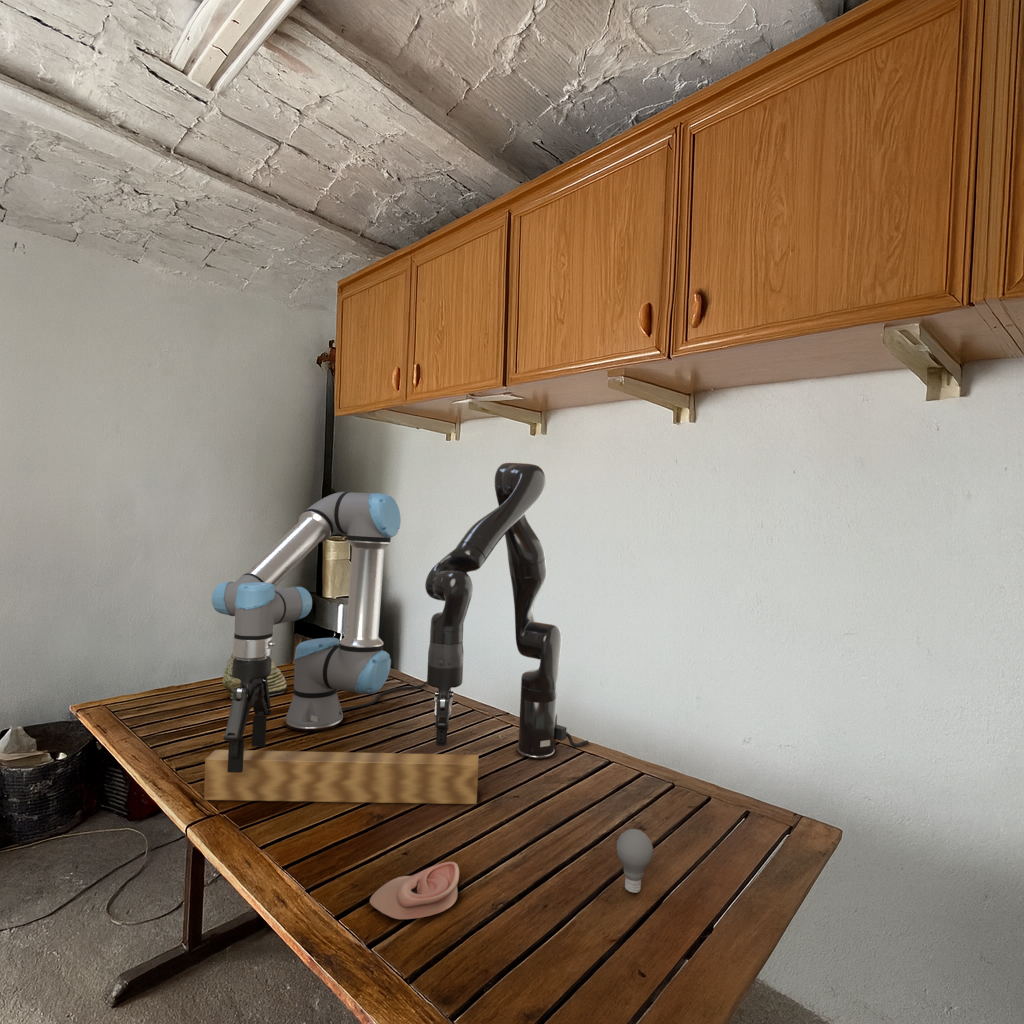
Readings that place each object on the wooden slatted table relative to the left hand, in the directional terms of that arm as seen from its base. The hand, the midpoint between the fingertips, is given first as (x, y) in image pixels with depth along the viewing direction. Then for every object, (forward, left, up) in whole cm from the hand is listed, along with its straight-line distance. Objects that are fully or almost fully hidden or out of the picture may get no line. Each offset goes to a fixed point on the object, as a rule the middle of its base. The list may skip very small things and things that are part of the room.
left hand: (247, 758), depth 133 cm
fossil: (-35, -60, -8) cm, 70 cm away
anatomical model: (-1, +51, -8) cm, 52 cm away
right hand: (-27, +30, +5) cm, 41 cm away
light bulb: (-26, +76, -8) cm, 81 cm away
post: (-14, +15, -8) cm, 22 cm away
